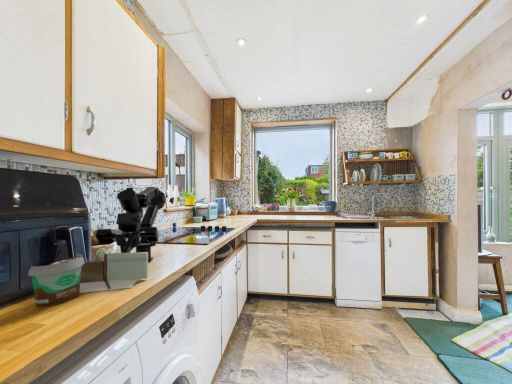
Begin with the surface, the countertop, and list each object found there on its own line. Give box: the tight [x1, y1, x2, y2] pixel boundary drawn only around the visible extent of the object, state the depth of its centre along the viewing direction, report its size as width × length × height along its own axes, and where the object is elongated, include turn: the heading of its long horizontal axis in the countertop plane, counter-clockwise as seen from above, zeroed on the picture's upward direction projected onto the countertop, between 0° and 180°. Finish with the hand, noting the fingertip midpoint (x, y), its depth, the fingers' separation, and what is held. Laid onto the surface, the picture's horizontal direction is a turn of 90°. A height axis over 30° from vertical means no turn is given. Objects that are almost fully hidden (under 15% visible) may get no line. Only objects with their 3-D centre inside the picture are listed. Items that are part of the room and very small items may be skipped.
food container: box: [27, 253, 86, 308], centre depth 60 cm, size 12×6×10 cm, turn 168°
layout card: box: [79, 279, 139, 294], centre depth 72 cm, size 14×18×1 cm
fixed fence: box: [80, 253, 108, 283], centre depth 72 cm, size 1×8×8 cm, turn 104°
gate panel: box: [106, 251, 149, 280], centre depth 73 cm, size 1×12×8 cm, turn 93°
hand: (123, 257), depth 74 cm, fingers closed, pressing on gate panel
